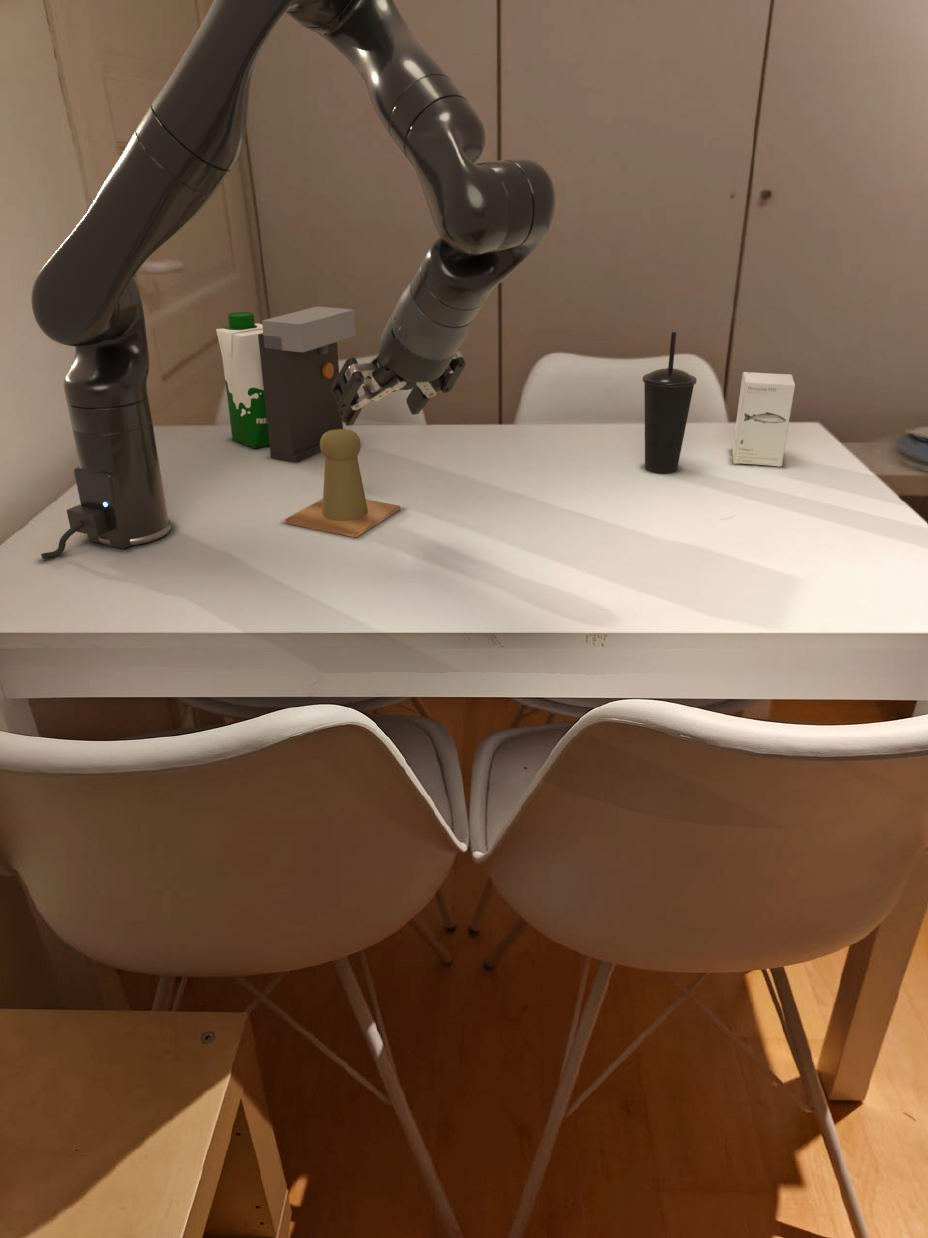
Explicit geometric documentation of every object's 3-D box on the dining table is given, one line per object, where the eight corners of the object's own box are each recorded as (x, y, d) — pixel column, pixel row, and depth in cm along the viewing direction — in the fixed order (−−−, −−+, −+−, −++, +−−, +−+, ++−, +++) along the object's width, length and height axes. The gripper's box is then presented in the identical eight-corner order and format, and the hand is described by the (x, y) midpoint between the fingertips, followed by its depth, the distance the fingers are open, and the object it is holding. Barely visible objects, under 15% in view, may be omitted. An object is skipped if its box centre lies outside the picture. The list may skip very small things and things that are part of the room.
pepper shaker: (360, 522, 120) (355, 439, 115) (315, 519, 121) (308, 436, 116) (373, 505, 125) (369, 425, 120) (330, 502, 126) (324, 423, 121)
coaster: (356, 537, 117) (355, 533, 117) (285, 523, 121) (285, 519, 121) (400, 509, 126) (400, 505, 125) (333, 497, 130) (332, 493, 130)
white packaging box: (732, 464, 142) (743, 381, 136) (731, 450, 148) (742, 370, 142) (782, 467, 140) (796, 384, 134) (780, 453, 147) (792, 372, 141)
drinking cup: (628, 471, 139) (639, 334, 130) (644, 457, 145) (656, 325, 136) (678, 479, 136) (693, 339, 126) (692, 464, 142) (707, 330, 132)
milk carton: (269, 429, 160) (257, 308, 151) (298, 440, 154) (287, 315, 145) (224, 439, 155) (208, 315, 146) (252, 451, 149) (237, 322, 140)
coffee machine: (312, 464, 143) (300, 324, 133) (270, 457, 146) (256, 319, 136) (361, 440, 154) (354, 309, 144) (322, 434, 157) (311, 305, 147)
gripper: (473, 289, 97) (420, 377, 111) (351, 301, 91) (311, 393, 104) (500, 349, 96) (443, 431, 110) (379, 366, 89) (334, 451, 103)
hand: (379, 413), depth 107 cm, fingers open, 8 cm apart
